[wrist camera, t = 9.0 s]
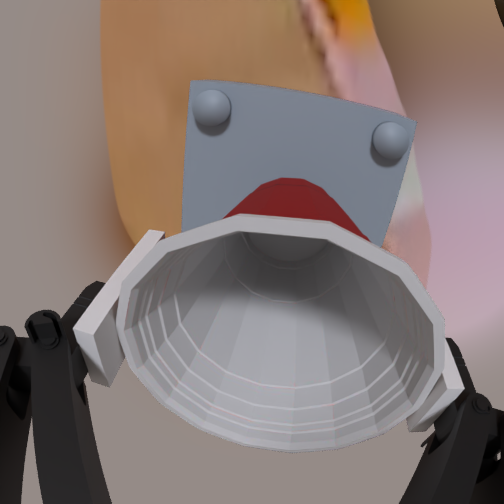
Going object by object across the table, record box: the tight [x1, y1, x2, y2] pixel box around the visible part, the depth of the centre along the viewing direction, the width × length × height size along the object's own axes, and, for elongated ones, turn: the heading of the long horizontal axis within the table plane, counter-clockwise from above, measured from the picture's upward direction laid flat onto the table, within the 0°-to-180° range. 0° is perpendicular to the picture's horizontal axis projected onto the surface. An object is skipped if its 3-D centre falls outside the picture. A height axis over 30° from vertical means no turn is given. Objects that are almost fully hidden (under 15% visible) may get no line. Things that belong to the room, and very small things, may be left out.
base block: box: [182, 80, 417, 248], centre depth 24 cm, size 15×15×6 cm
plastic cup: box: [115, 177, 445, 453], centre depth 14 cm, size 11×11×12 cm
